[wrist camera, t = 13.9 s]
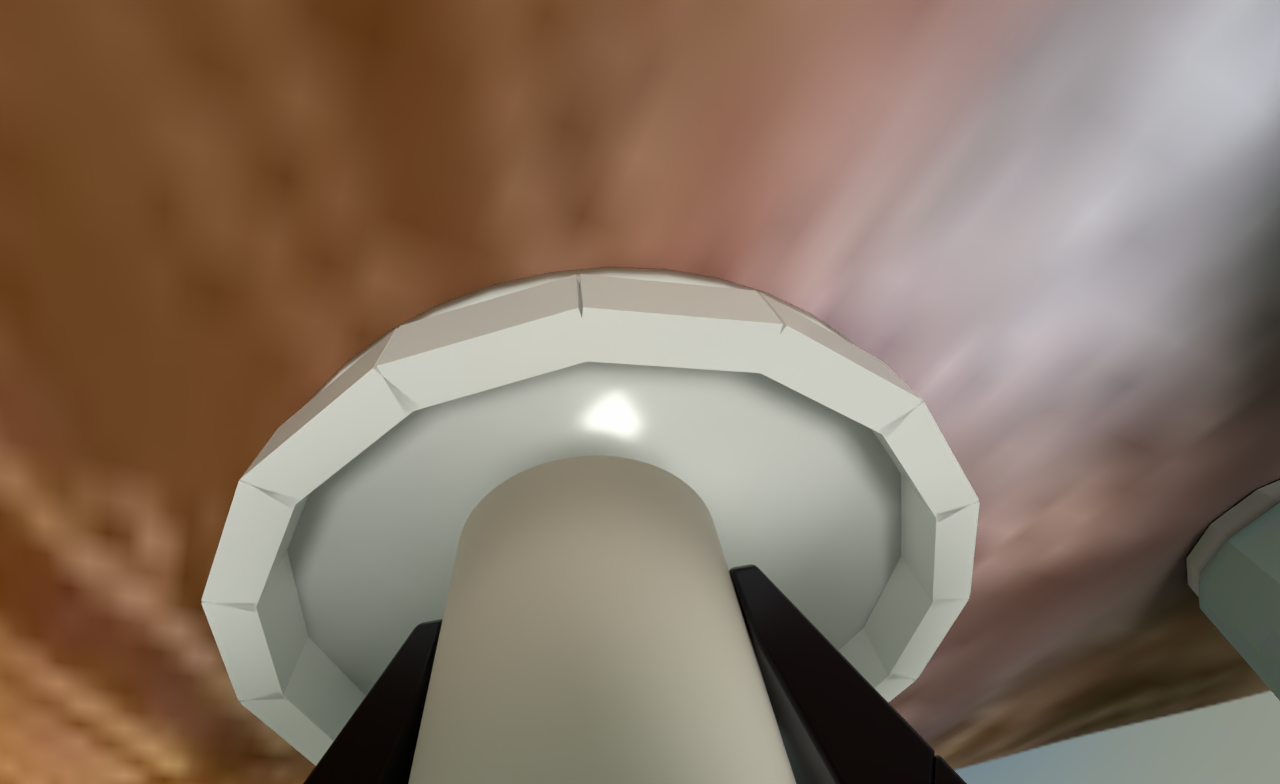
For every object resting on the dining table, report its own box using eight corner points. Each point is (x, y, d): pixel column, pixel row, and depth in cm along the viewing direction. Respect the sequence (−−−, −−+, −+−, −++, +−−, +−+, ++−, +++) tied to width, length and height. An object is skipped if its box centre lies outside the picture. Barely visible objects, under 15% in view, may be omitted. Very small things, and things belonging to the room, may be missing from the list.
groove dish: (1040, 305, 13) (1127, 353, 11) (813, 730, 22) (839, 799, 20) (171, 219, 10) (72, 263, 8) (319, 754, 19) (290, 839, 17)
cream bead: (521, 662, 11) (496, 1048, 7) (407, 506, 9) (257, 947, 4) (738, 598, 11) (851, 957, 7) (680, 420, 8) (799, 798, 4)
